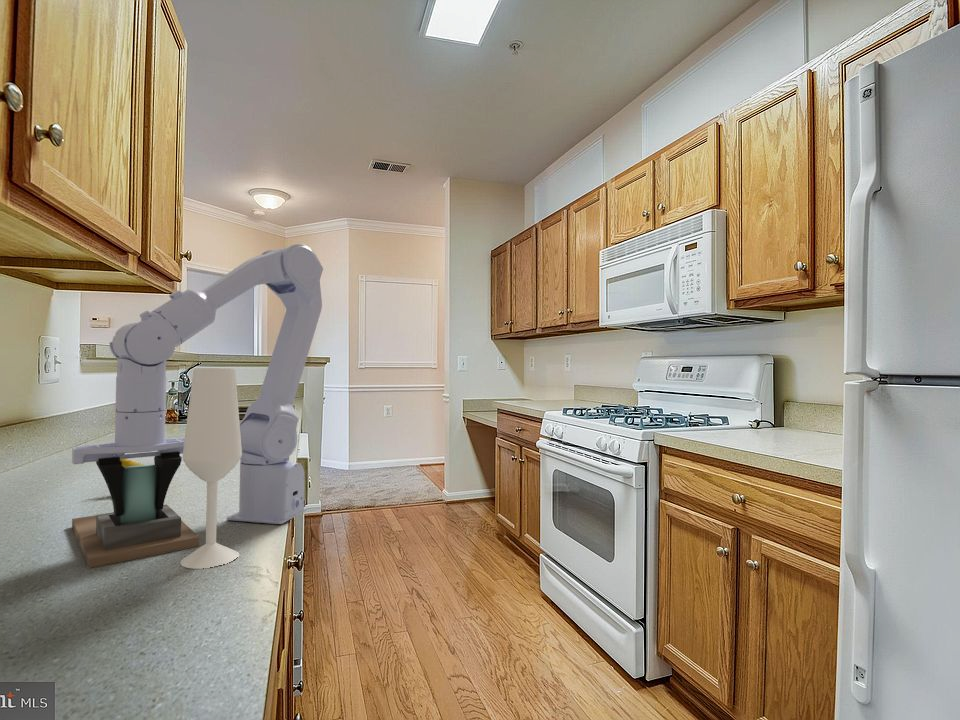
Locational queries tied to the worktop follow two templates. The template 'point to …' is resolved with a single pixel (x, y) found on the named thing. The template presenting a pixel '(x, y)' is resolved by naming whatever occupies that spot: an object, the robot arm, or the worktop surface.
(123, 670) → the worktop surface
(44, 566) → the worktop surface
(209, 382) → the champagne flute
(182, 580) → the worktop surface
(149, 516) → the peg
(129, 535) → the dock board
